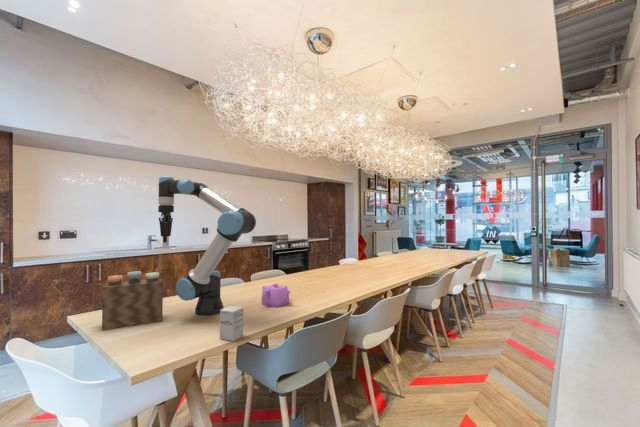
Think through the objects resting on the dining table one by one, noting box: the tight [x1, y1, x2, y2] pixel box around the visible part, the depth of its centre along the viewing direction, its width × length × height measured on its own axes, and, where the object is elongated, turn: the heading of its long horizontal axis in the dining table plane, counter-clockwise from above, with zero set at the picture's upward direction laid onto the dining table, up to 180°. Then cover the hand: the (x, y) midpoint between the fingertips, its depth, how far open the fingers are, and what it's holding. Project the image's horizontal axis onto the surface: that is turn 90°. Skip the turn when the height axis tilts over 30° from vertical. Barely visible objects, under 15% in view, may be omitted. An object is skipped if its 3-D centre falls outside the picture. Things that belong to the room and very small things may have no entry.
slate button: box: [126, 270, 142, 280], centre depth 150 cm, size 6×6×4 cm
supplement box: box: [219, 305, 245, 342], centre depth 129 cm, size 7×7×13 cm
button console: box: [101, 278, 164, 331], centre depth 149 cm, size 25×10×22 cm, turn 121°
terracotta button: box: [107, 274, 124, 283], centre depth 145 cm, size 6×6×4 cm
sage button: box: [145, 271, 160, 280], centre depth 154 cm, size 6×6×4 cm
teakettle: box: [261, 283, 291, 308], centre depth 183 cm, size 17×17×12 cm
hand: (165, 248), depth 161 cm, fingers closed
